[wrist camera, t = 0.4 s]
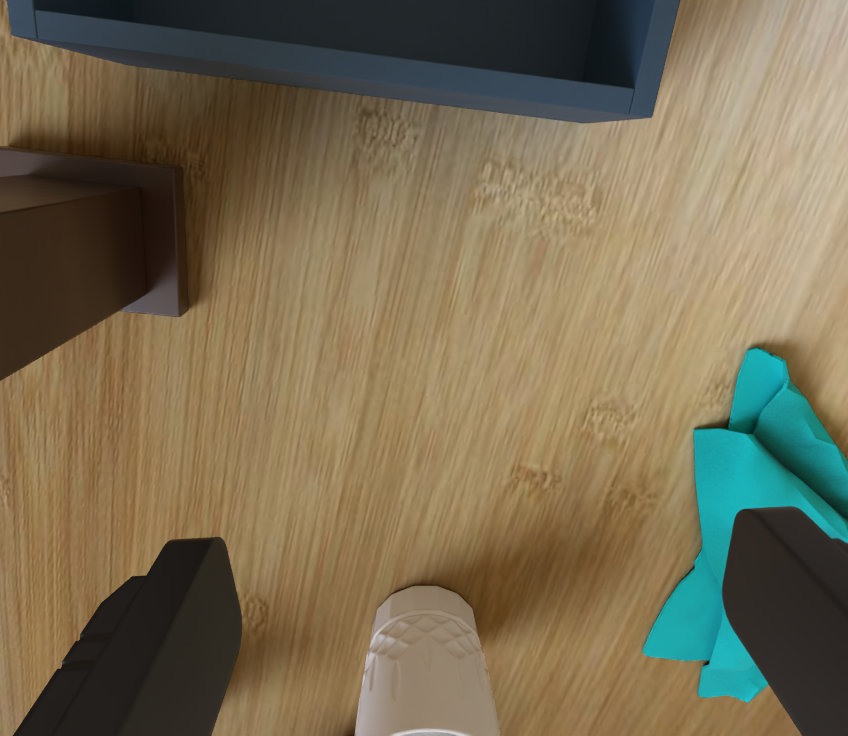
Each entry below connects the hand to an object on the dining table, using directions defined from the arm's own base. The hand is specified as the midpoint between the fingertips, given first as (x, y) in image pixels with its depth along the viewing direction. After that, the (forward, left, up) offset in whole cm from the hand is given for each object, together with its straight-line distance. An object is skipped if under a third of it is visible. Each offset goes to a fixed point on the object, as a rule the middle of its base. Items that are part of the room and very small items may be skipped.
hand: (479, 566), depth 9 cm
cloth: (+27, +3, -21) cm, 35 cm away
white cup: (+17, -16, -21) cm, 31 cm away
